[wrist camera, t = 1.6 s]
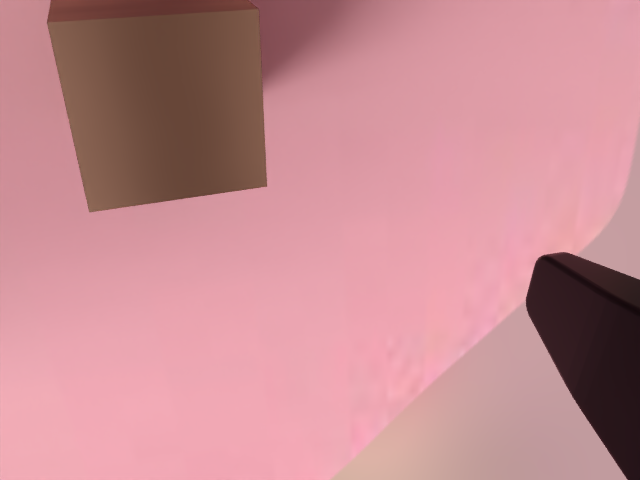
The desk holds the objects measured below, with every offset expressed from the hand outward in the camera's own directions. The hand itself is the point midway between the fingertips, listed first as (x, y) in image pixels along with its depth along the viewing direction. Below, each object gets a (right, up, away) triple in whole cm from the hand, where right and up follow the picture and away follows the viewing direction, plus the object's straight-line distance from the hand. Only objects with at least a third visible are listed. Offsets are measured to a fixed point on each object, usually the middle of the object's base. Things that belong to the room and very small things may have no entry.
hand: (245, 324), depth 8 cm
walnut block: (-4, +7, +11) cm, 14 cm away
